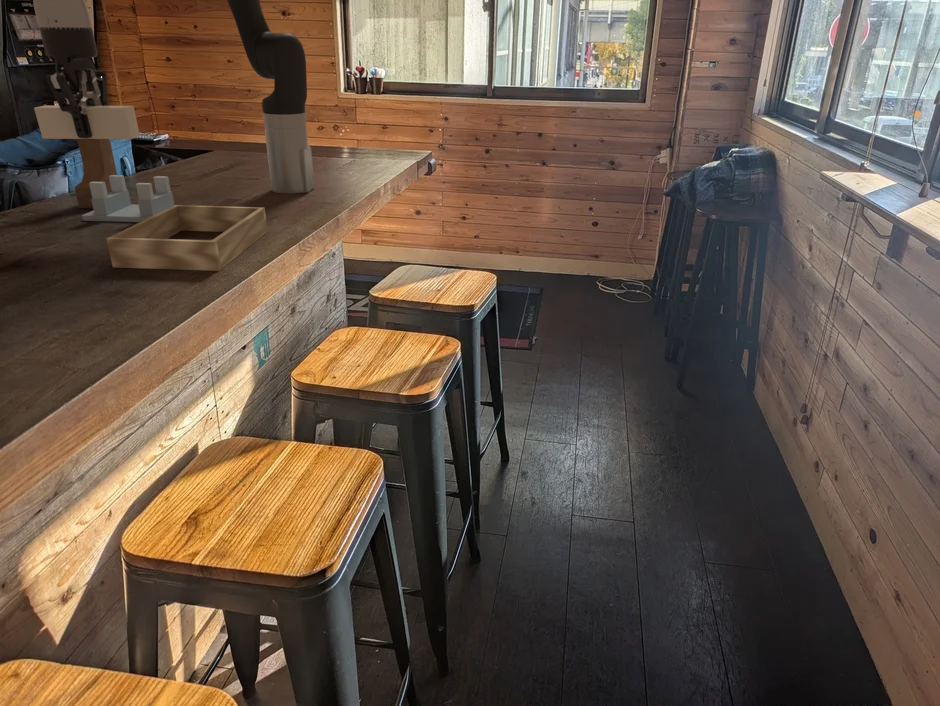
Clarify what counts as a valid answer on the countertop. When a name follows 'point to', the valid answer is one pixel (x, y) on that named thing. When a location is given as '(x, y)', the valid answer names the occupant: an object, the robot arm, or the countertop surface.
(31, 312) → the countertop surface
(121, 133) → the clay strip
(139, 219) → the rack
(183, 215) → the tray frame
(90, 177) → the wooden block
